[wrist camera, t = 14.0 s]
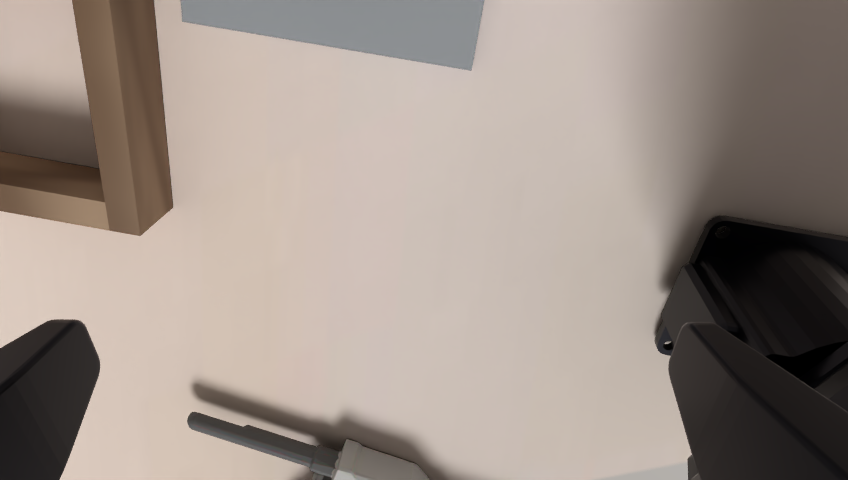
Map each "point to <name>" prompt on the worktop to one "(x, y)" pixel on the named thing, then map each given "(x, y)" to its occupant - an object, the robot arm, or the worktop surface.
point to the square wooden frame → (106, 131)
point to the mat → (356, 25)
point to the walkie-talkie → (313, 453)
